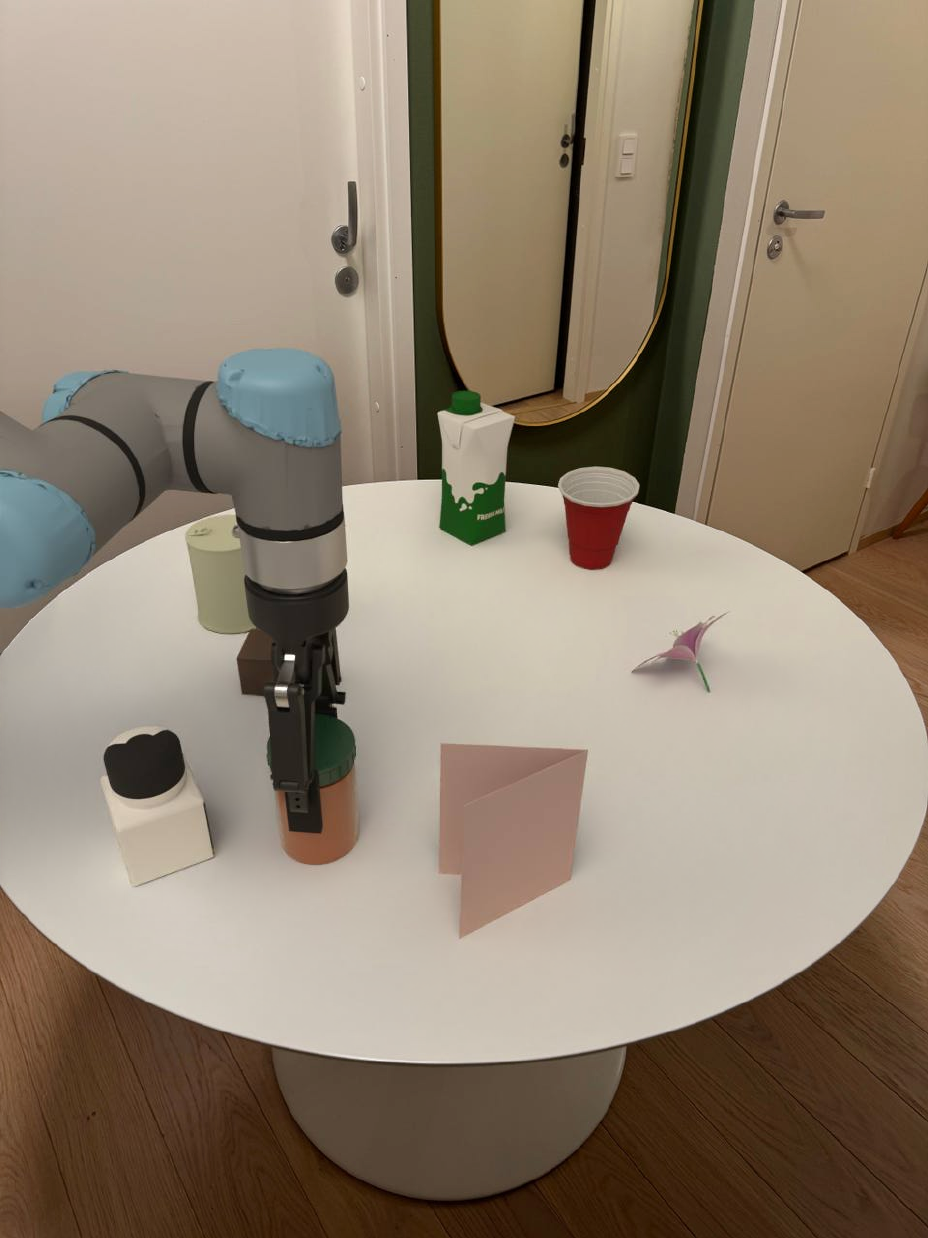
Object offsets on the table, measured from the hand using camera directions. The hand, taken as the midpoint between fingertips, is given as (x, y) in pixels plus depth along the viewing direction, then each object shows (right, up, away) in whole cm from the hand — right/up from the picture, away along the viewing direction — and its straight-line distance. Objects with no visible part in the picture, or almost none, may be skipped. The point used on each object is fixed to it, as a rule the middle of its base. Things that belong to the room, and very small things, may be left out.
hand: (316, 795), depth 77 cm
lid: (0, +5, -3) cm, 6 cm away
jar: (0, -4, +3) cm, 5 cm away
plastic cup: (+31, +24, +47) cm, 61 cm away
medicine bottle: (-14, -5, +1) cm, 15 cm away
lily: (+38, +9, +25) cm, 46 cm away
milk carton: (+14, +28, +53) cm, 62 cm away
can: (-16, +16, +33) cm, 40 cm away
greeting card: (+16, -9, -3) cm, 19 cm away
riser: (-8, +8, +21) cm, 25 cm away
